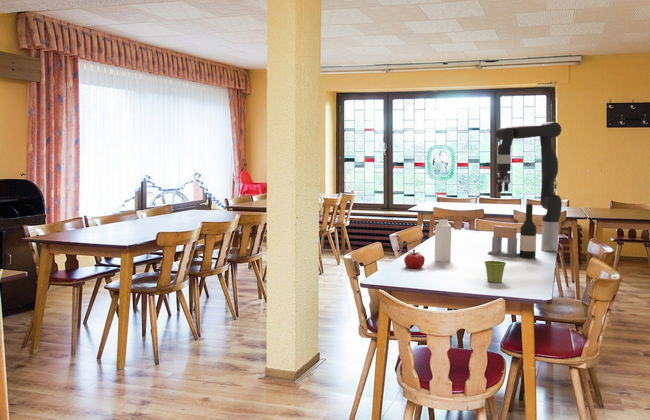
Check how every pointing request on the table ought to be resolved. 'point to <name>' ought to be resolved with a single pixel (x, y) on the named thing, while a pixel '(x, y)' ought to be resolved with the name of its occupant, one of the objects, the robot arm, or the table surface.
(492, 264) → the plant pot
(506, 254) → the stand
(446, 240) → the milk
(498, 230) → the rectangular block
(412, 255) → the red apple
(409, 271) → the table surface
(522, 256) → the wine bottle
